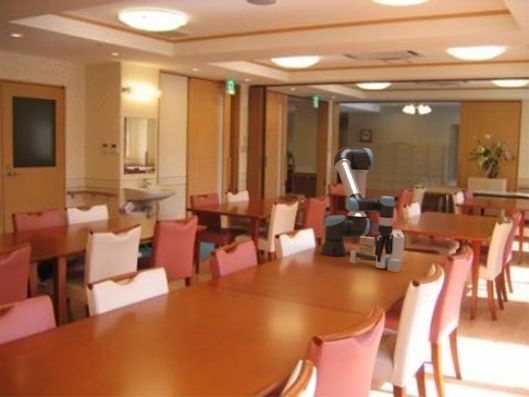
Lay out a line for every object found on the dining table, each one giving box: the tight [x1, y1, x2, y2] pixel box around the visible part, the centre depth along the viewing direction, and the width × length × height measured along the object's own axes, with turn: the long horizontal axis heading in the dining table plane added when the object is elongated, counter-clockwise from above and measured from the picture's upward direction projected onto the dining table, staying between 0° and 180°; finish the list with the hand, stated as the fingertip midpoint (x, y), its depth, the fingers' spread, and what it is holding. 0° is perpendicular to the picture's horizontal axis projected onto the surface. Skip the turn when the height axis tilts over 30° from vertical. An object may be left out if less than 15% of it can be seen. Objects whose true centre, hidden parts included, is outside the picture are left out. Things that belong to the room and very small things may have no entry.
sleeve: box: [375, 252, 391, 269], centre depth 308 cm, size 5×6×7 cm
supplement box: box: [358, 236, 376, 261], centre depth 332 cm, size 8×5×13 cm, turn 73°
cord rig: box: [349, 249, 402, 273], centre depth 312 cm, size 30×5×7 cm, turn 46°
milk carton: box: [390, 228, 405, 263], centre depth 328 cm, size 7×7×19 cm
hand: (382, 266), depth 309 cm, fingers closed on sleeve, 6 cm apart
